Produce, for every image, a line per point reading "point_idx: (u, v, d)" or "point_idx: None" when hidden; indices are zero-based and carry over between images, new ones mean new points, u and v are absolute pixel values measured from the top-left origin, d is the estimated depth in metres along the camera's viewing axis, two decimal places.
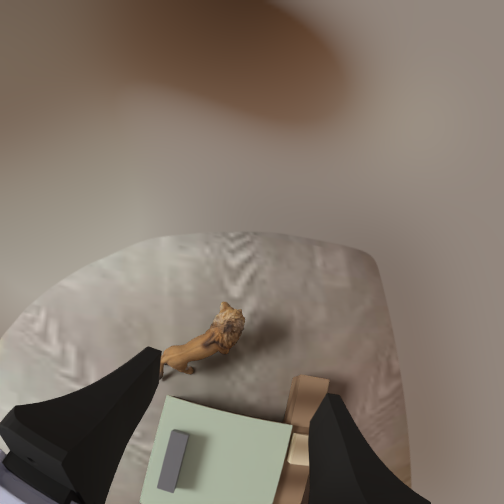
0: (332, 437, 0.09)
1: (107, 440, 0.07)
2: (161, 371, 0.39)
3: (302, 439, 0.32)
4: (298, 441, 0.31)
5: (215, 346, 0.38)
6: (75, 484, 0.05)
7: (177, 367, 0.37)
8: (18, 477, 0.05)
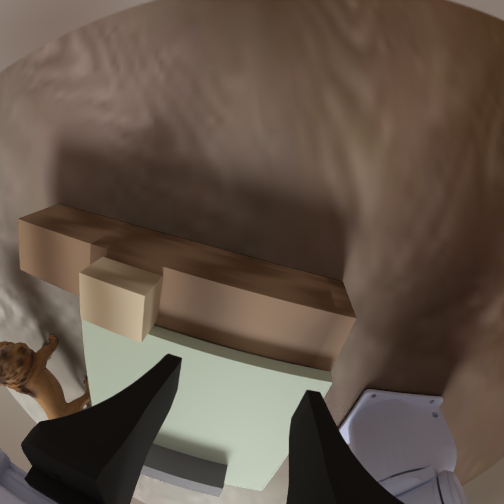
0: (309, 434, 0.09)
1: (133, 451, 0.07)
2: None
3: (88, 311, 0.15)
4: (93, 319, 0.15)
5: (30, 384, 0.21)
6: (105, 499, 0.05)
7: None
8: (42, 493, 0.05)
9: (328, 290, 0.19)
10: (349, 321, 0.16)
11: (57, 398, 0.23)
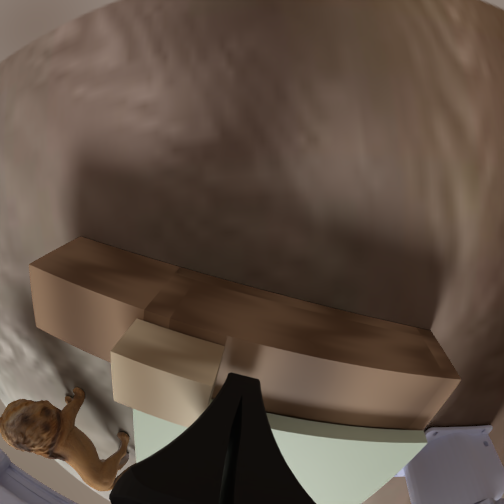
0: (238, 420, 0.09)
1: None
2: None
3: (125, 394, 0.11)
4: (132, 404, 0.11)
5: (59, 448, 0.17)
6: None
7: (110, 480, 0.19)
8: None
9: (425, 346, 0.15)
10: (454, 383, 0.12)
11: (91, 459, 0.19)
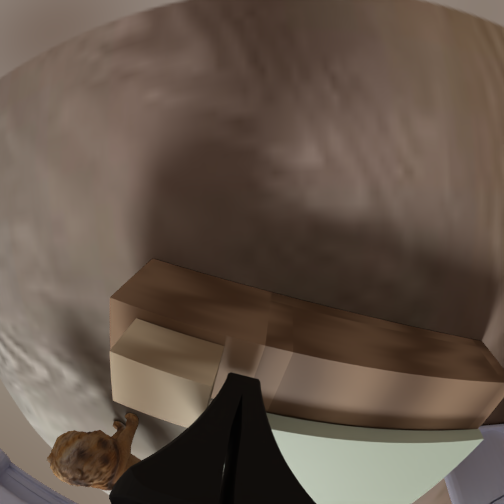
0: (238, 420, 0.09)
1: None
2: None
3: (124, 394, 0.11)
4: (131, 404, 0.11)
5: None
6: None
7: None
8: None
9: (483, 356, 0.15)
10: None
11: None
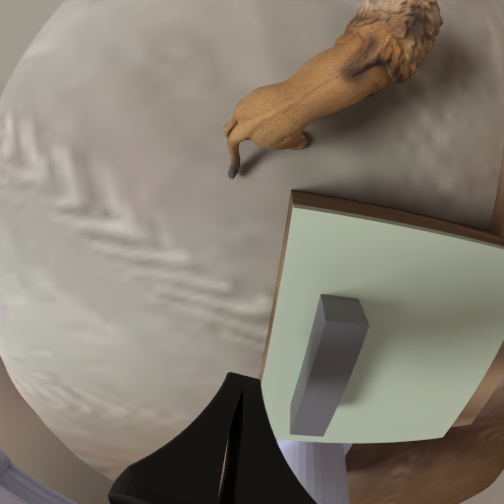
0: (238, 420, 0.09)
1: None
2: (234, 158, 0.17)
3: None
4: None
5: (377, 76, 0.11)
6: None
7: (280, 145, 0.14)
8: None
9: None
10: (470, 422, 0.19)
11: (326, 115, 0.13)
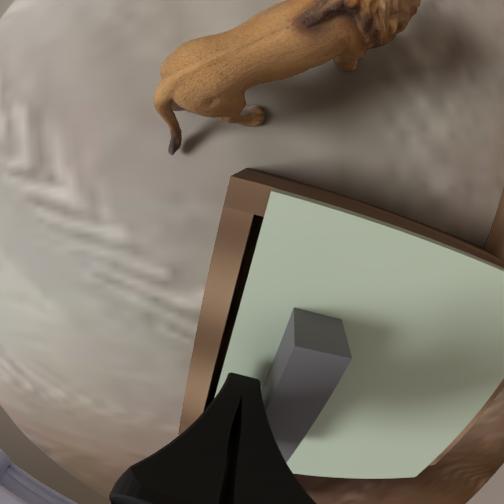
0: (237, 420, 0.09)
1: None
2: (173, 130, 0.14)
3: None
4: None
5: (342, 29, 0.08)
6: None
7: (210, 109, 0.10)
8: None
9: None
10: (434, 463, 0.16)
11: (274, 78, 0.10)
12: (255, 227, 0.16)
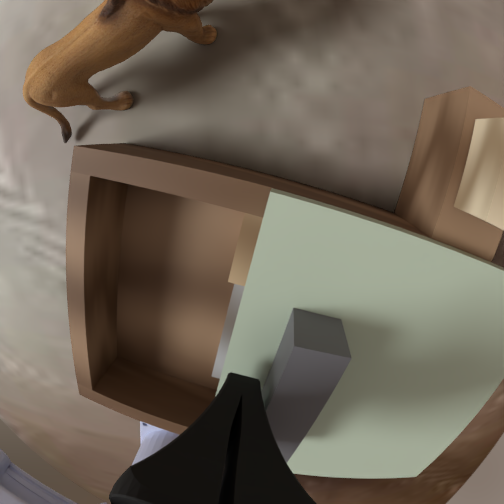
0: (238, 420, 0.09)
1: None
2: (59, 122, 0.14)
3: None
4: None
5: (136, 9, 0.08)
6: None
7: (55, 101, 0.11)
8: None
9: None
10: None
11: (100, 65, 0.10)
12: (127, 195, 0.16)
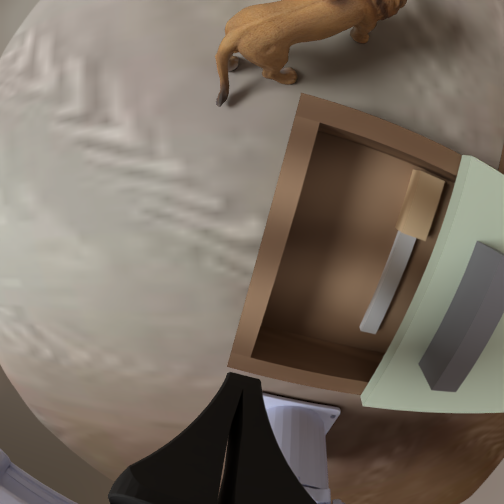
0: (238, 420, 0.09)
1: None
2: (223, 83, 0.16)
3: None
4: None
5: (361, 3, 0.10)
6: None
7: (266, 56, 0.12)
8: None
9: None
10: None
11: (312, 37, 0.12)
12: None
